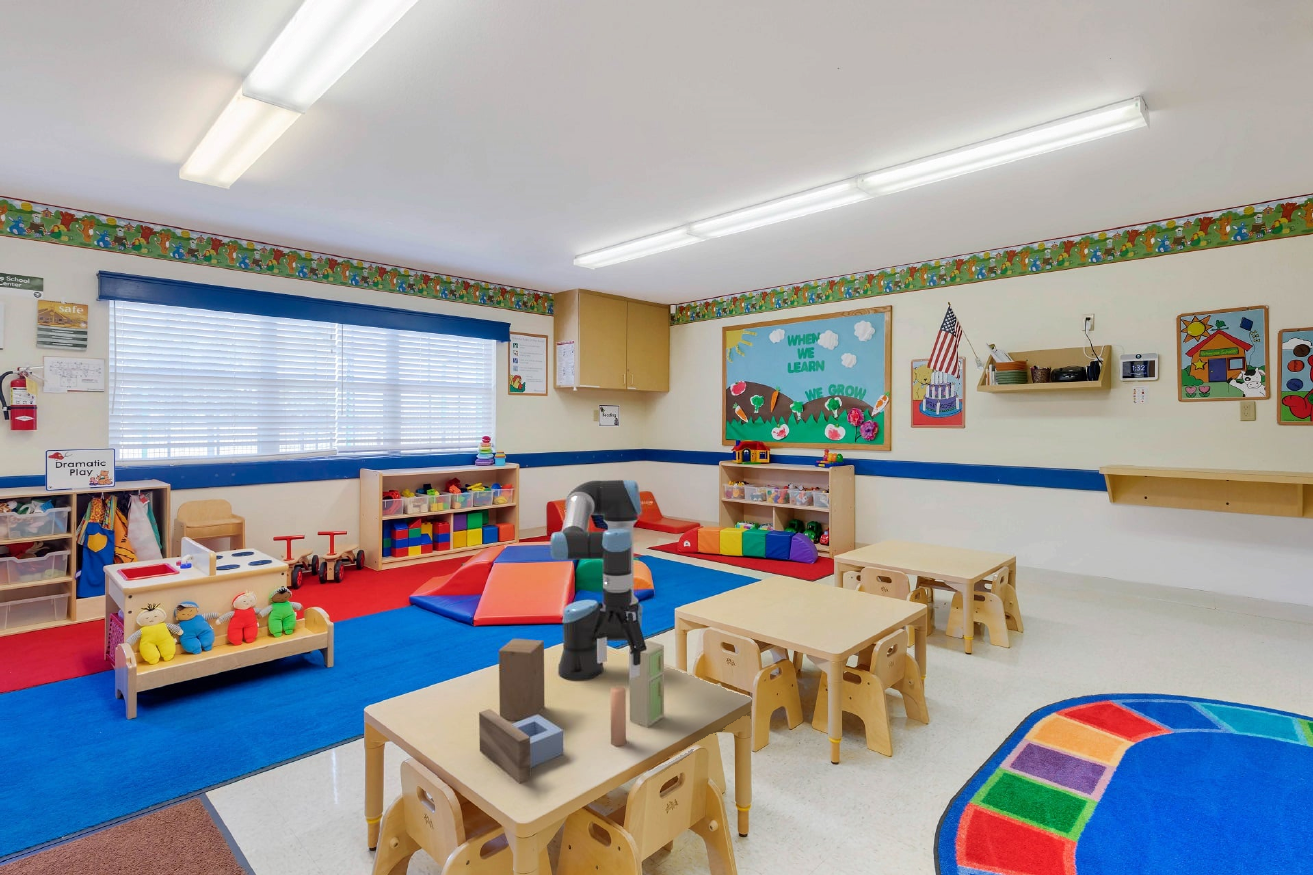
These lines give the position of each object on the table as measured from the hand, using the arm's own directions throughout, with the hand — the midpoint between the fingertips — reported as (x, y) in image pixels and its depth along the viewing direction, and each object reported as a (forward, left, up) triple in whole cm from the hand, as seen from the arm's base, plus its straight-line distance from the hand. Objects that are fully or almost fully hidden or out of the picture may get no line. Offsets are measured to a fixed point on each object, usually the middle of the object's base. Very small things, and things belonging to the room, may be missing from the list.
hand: (617, 669), depth 166 cm
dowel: (0, 0, -20) cm, 20 cm away
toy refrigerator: (-14, -4, -20) cm, 25 cm away
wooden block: (+10, -32, -20) cm, 39 cm away
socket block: (+20, -11, -20) cm, 30 cm away
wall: (+27, -11, -20) cm, 35 cm away
